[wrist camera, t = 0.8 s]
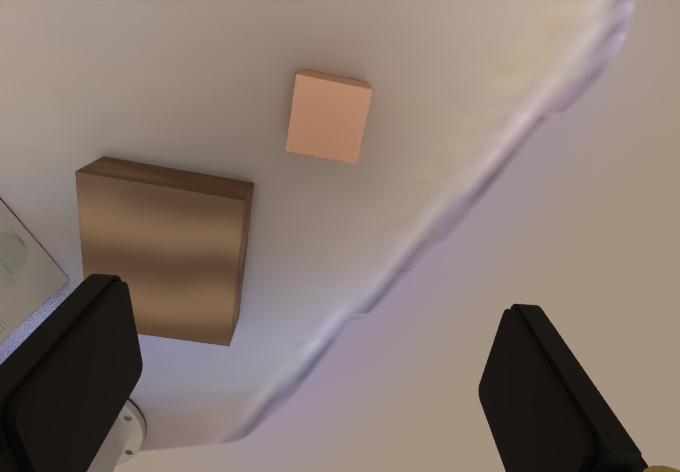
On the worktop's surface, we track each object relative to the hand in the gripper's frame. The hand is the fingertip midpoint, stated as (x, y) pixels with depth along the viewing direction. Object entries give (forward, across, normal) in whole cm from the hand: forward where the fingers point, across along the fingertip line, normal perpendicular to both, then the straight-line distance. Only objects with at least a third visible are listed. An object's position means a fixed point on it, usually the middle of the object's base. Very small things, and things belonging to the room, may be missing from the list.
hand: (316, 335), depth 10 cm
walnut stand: (+24, +13, +12) cm, 30 cm away
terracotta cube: (+25, 0, -1) cm, 25 cm away
